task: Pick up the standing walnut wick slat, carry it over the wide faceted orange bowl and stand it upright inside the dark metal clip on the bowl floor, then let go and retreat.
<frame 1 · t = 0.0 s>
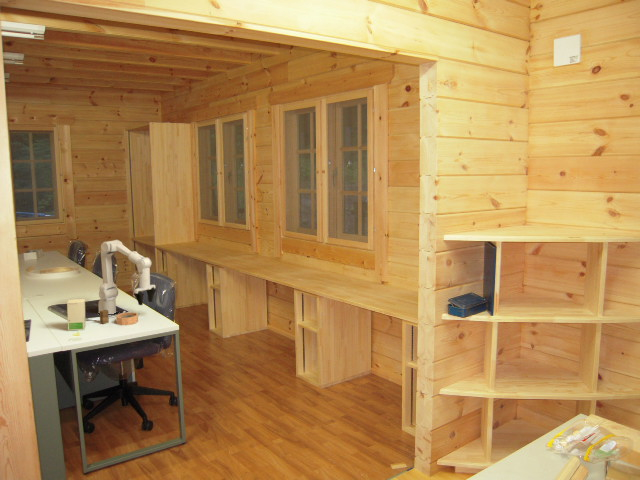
hand: (145, 303, 305), 10 cm above the table, fingers open, 7 cm apart
wick: (104, 323, 301), on the table
faceted orange bowl: (127, 322, 303), on the table
skincare box: (77, 329, 291), on the table
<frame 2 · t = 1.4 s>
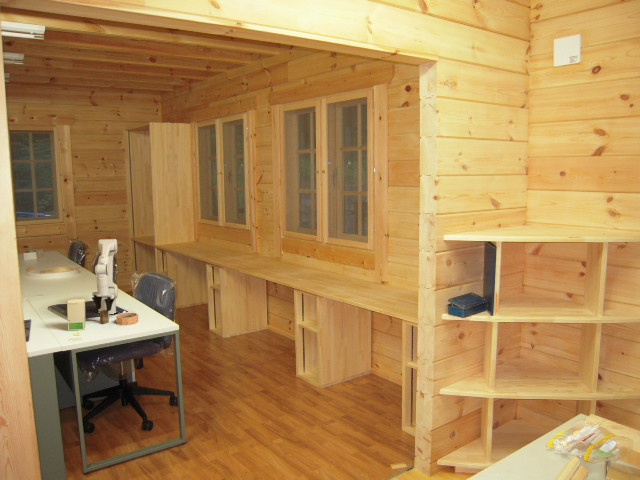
hand: (103, 309, 300), 8 cm above the table, fingers open, 7 cm apart
nothing on the table moved.
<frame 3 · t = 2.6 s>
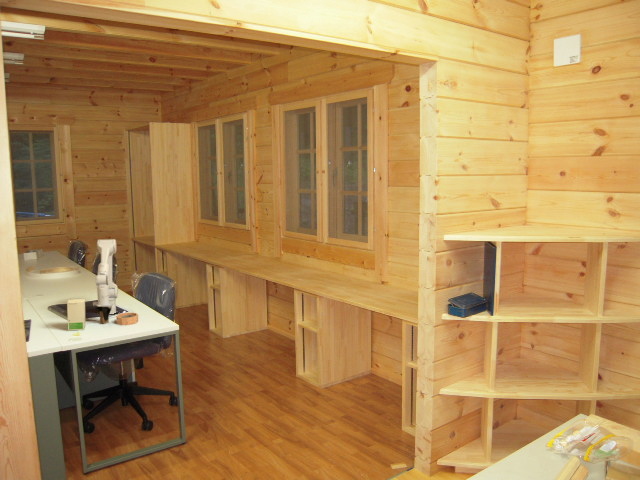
hand: (104, 319, 301), 2 cm above the table, fingers closed on wick, 2 cm apart
wick: (104, 323, 301), on the table, touching gripper
everything else where it was.
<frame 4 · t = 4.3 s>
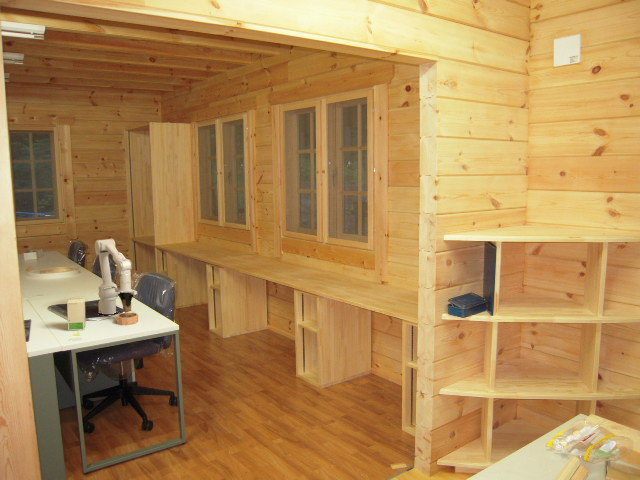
hand: (126, 305, 302), 9 cm above the table, fingers closed on wick, 2 cm apart
wick: (127, 311, 303), point 6 cm above the table, touching gripper
everything else where it was.
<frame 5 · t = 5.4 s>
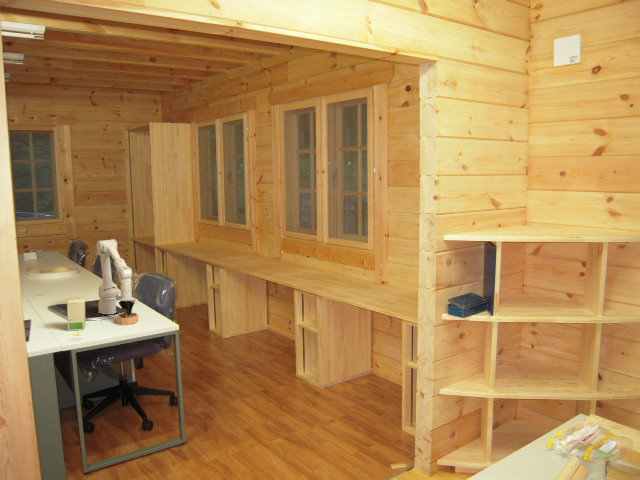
hand: (127, 314, 303), 5 cm above the table, fingers closed on wick, 2 cm apart
wick: (127, 320, 303), point 1 cm above the table, touching gripper, faceted orange bowl
everything else where it was.
when the fingers open (4 cm above the table, at t = 5.8 s): wick stays where it is, resting on faceted orange bowl.
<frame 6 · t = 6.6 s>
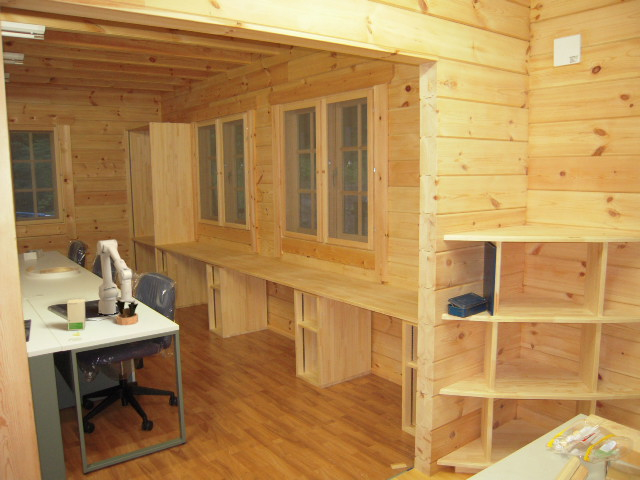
hand: (127, 314, 303), 4 cm above the table, fingers open, 7 cm apart
wick: (127, 320, 303), point 1 cm above the table, touching faceted orange bowl
everything else where it was.
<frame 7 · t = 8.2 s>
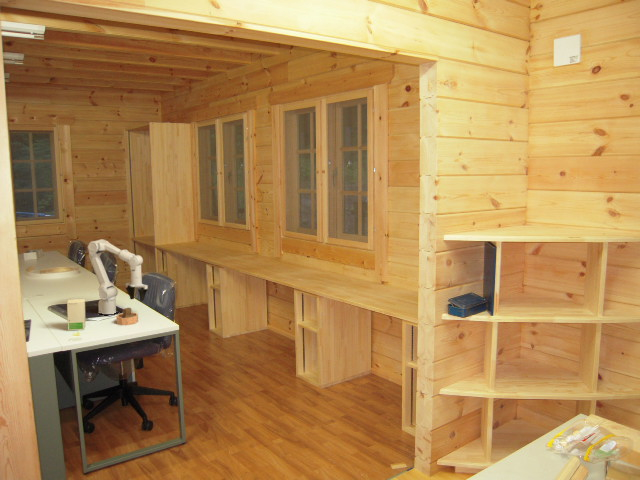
hand: (137, 299, 313), 10 cm above the table, fingers open, 7 cm apart
nothing on the table moved.
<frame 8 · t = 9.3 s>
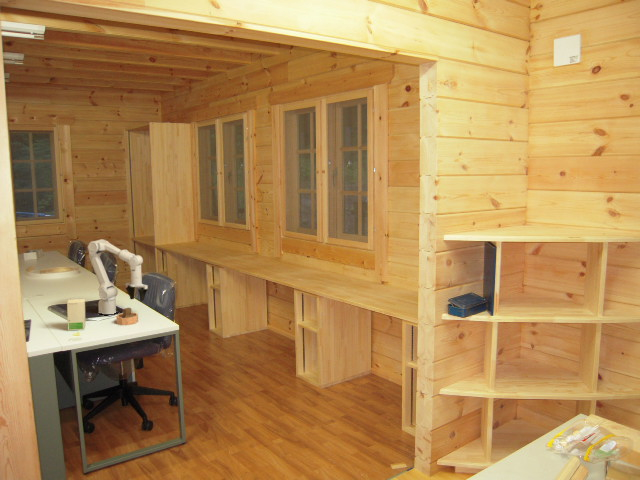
hand: (137, 299, 313), 10 cm above the table, fingers open, 7 cm apart
nothing on the table moved.
at the end: wick 0.1 cm off-centre on the faceted orange bowl, point 0.8 cm above the faceted orange bowl's base; wick tilted 0°; the gripper is holding nothing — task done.
